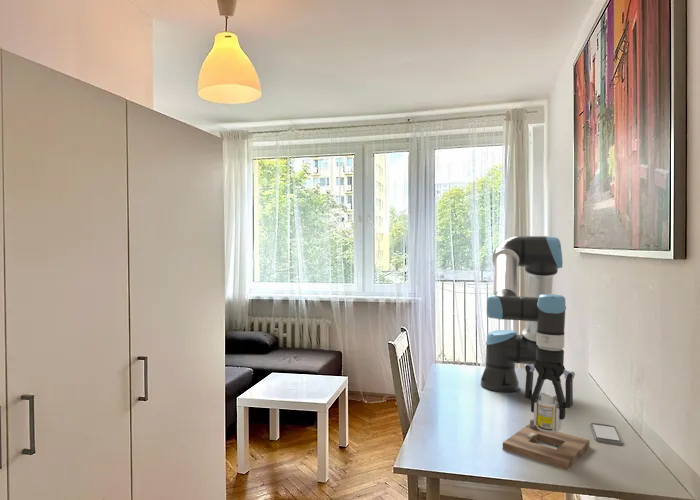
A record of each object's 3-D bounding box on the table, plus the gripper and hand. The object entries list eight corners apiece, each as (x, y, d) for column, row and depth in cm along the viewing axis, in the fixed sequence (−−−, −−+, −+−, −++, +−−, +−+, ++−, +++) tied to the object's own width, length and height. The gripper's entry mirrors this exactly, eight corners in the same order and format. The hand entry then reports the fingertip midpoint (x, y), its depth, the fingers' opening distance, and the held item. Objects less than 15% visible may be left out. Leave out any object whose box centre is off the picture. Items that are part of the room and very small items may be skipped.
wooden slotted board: (529, 430, 156) (529, 416, 156) (589, 446, 144) (590, 432, 144) (502, 449, 141) (503, 434, 141) (567, 469, 129) (568, 453, 129)
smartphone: (595, 439, 148) (590, 422, 162) (595, 442, 148) (589, 425, 162) (623, 443, 145) (614, 425, 160) (623, 446, 146) (614, 429, 160)
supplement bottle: (550, 425, 145) (551, 391, 145) (561, 432, 140) (562, 397, 140) (533, 426, 144) (534, 391, 144) (543, 433, 139) (544, 398, 139)
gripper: (513, 344, 145) (511, 421, 145) (579, 355, 133) (577, 439, 133) (523, 341, 151) (521, 415, 151) (587, 351, 138) (585, 432, 139)
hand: (547, 426), depth 142 cm, fingers closed on supplement bottle, 6 cm apart
